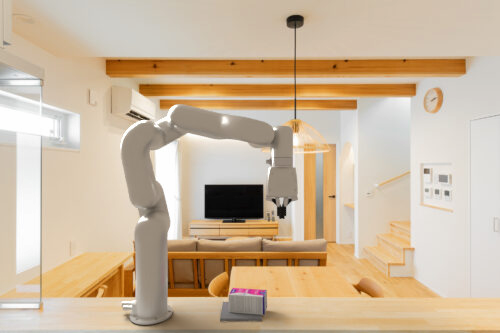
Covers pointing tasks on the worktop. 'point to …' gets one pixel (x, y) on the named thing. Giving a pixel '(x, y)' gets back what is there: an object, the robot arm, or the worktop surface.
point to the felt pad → (237, 315)
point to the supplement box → (248, 301)
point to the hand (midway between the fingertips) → (281, 218)
